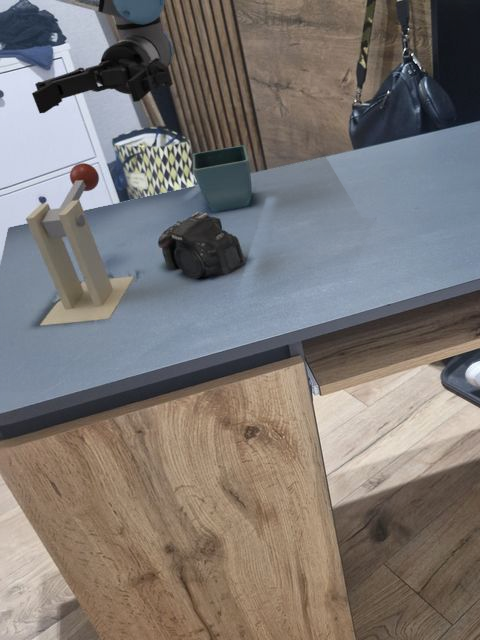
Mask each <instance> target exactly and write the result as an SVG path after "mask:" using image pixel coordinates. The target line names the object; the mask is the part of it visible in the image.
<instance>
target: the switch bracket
mask: <svg viewBox="0 0 480 640" xmlns="http://www.w3.org/2000/svg"><path fill="white" fill-rule="evenodd" d="M50 209H51V206H50V204H49V203H41V204H39V205H38V206H37V207H36V208H35V209H34V210H33V211H32V212H31V213H30V214H29V215H28V216H26V218H25V221H26V223H27V225H28V227H29V230H30V232H31V234H32V237H33V239H34V241H35V244H36V246H37V249H38V250H39V253H40V255H41V258H42V259H43V262H44V264H45V267H46V269H47V271H48V274H49V276H50V278H51V281H52V283H53V285H54V288H55V290H56V292H57V294H58V297H59V299H58V300H57V302H56V303H55V304H54V305H53V307H52V308H51V310H50V311H49V312H48V313H47V315H46V316H45V317H44V319H43V320H42V322H41V323H40V324H39V326H40V327H41V326H43V327H44V326H53V325H54V326H55V325H63V324H73V323H85V322H94V321H95V322H96V321H103V320H104V321H105V320H110V319H111V317H112V315H113V314H114V313H115V311H116V309H117V307H118V306H119V304H120V303H121V301H122V299H123V297H124V295H125V294H126V292H127V291H128V289H129V288H130V286H131V284H132V282H133V281H134V279H135V276H134V275H133V276H131V275H130V276H123V277H113V278H109V275H108V273H107V270H106V268H105V267H106V266H105V264H104V262H103V259H102V256H101V254H100V252H99V249H98V246H97V243H96V241H95V237H94V235H93V233H92V230H91V227H90V224H89V222H88V219H87V217H86V214H85V211H84V208H83V206H82V203H81V200H80V199H79V200H75V201H71V202H70V203H69V204H68V205H67V207H66V208H65V209H64V210H63V211H62V212H61V213H60V214H59V215H58V216H59V218H60V221H61V223H62V226H63V228H64V231H65V233H66V236H67V237H66V238H67V240H68V244H69V245H70V248H71V250H72V253H73V256H74V258H75V261H76V263H77V265H78V268H79V271H80V272H81V275H82V278H83V280H84V281H83V280H82V281H80V279H79V276H78V274H77V271H76V269H75V266H74V264H73V262H72V259H71V256H70V254H69V252H68V249H67V247H66V244H65V241H64V239H63V237H58V238H50V236H49V234H48V232H47V230H46V228H45V227H44V225H43V223H42V221H43V220H44V218H45V216H46V215H47V213H48V211H49V210H50Z"/></svg>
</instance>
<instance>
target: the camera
mask: <svg viewBox="0 0 480 640" xmlns="http://www.w3.org/2000/svg"><path fill="white" fill-rule="evenodd" d="M157 244H158V248H160V249H161V251H162V257H163V259H164V262H165V265H166V267H167V269H168V270H171V271H174V270H177V269H180V270H181V271H182V273H183V274H184V275H186V276H187V277H189V278H190V279H191V278H192V279H195V280H199V279H201V278H210V277H213V276H224V275H229V274H231V273H233V272H234V271H236V270H238V269H239V268H241V267H243V266H244V265H245V264H246V263H245V257H244V254H243V251H242V248H241V244H240V241H239V238H238V237H237V236H235V235H233V234H232V233H229V232H228V231H226V230H224V229H223V224H222V222H221V218H219V217H215V216H211V215H209V214H208V213H207V212H205V213H201V211H197V212H195V213H193V214H192V215H191V216H189V217H188V218H186V219H183V220H178V221H176V223H175V224H173V225H171V226H169V227H168V228H167V229H165V230H163V233H161V235H160V236H159V238H158V241H157Z"/></svg>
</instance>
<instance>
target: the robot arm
mask: <svg viewBox="0 0 480 640" xmlns="http://www.w3.org/2000/svg"><path fill="white" fill-rule="evenodd" d="M55 2H60V3H64V4H67V5H71V6H75V7H79V8H83V9H87V10H91V11H95V12H98V13H102V14H104V15H109V16H113V20H114V23H115V28H116V30H117V34H118V37H119V40H118V41H117V42H116V43H114V44H112V45H110V46H108V47H107V48H106V49H105V50H104V52H103V54H102V56H101V59H100V62H99V63H98V64H97V65H93V66H90V67H86V68H84V67H78V68H77V69H75V70H73V71H70V72H66V73H64V74H60V75H58V76H55V77H52V78H48V79H45V80H42V81H37V82H36V83H35V84H34V85H35V87H36V90H35V91H33V92H32V93H31V94H32V98H33V100H34V103H35V105H36V107H37V110H38V113H39V114H45V113H48V111H49V110H51V109H53V108H54V107H58V106H60V104H61V103H62V102H63V99H66V98H69V97H73V96H76V95H80V94H83V93H86V92H91V91H92V92H96V93H98V92H102V91H105V90H115V91H116V92H119V93H121V94H124V95H130V96H131V98H132V102H133V103H135V102H136V103H137V102H140V101H141V100H142V99H143V98H144V97H145V96H146V95H148V93H150V92H151V91H152V90H157V89H159V88H160V87H161V84H162V85H163V86H165V87H172V85H174V83H173V79H172V76H171V72H170V68H169V66H170V64H171V63H172V61H173V59H174V53H175V51H174V50H175V49H174V45H173V41H172V39H171V37H170V36H169V35H168V34H167V32H165V31H164V30H163V26H162V22H161V18H160V16H161V15H162V13H163V10H164V7H165V2H166V1H165V0H55Z"/></svg>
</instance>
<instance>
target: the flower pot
mask: <svg viewBox="0 0 480 640" xmlns="http://www.w3.org/2000/svg"><path fill="white" fill-rule="evenodd" d="M250 167H251V166H250V159H249V155H248V151H247V147H246V145H245V144H244V145H243V144H242V145H241V144H240V145H237V146H229V147H225V148H219V149H211V150H206V151H202V152H201V151H199V152H196V153H192V172H193V174H194V176H195V179H196V183H197V185H198V188H199V191H200V193H201V195H202V198H203V200H204V201H205V204H206V205H207V206H208V208H209V209H210V210H211V211H212V212H213V213H219V212H225V211H229V210H230V211H231V210H234V209H240V208H245V207H249V206H250V203H251V199H252V178H251V177H252V176H251V168H250Z"/></svg>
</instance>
